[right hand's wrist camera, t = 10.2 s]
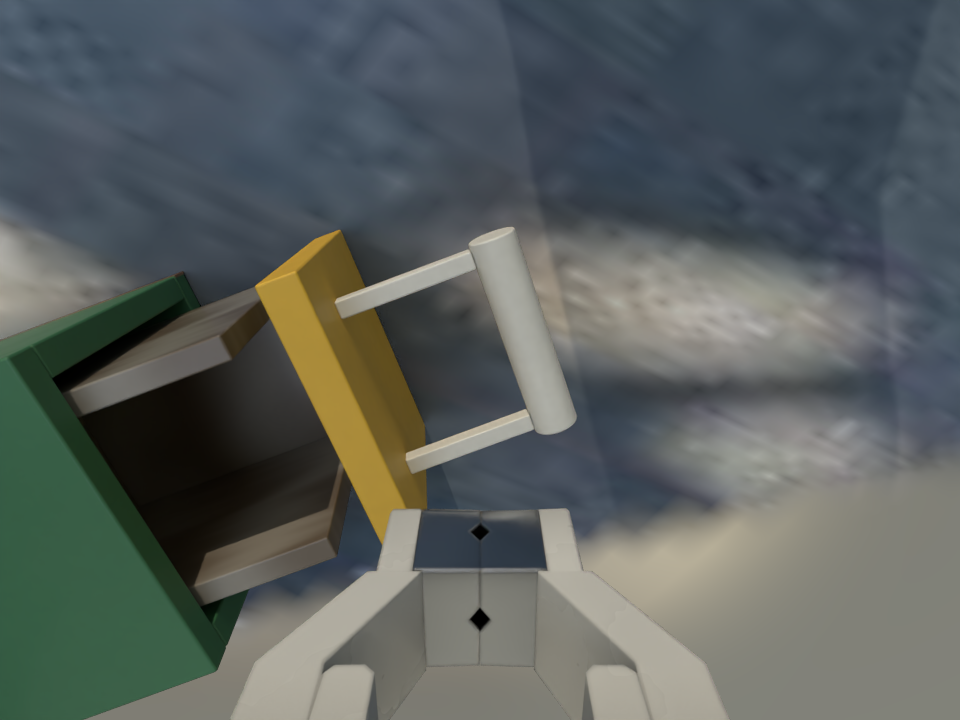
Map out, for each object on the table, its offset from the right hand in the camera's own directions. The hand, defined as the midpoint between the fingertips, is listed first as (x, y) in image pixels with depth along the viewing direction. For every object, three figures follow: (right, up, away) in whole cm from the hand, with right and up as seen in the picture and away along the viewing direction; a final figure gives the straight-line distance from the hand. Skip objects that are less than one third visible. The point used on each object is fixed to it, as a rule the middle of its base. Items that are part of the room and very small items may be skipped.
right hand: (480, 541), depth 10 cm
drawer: (-8, +3, +16) cm, 18 cm away
